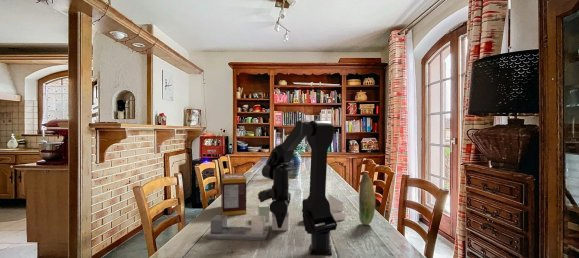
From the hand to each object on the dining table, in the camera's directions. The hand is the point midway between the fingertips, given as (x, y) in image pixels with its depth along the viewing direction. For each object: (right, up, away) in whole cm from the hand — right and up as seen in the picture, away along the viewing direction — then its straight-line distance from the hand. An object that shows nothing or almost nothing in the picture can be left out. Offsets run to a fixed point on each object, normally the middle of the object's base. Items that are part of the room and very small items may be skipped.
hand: (280, 223), depth 109 cm
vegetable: (+33, -2, +4) cm, 34 cm away
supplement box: (-22, -2, +24) cm, 33 cm away
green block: (-7, -2, +10) cm, 13 cm away
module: (0, -2, 0) cm, 2 cm away
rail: (-14, -2, -7) cm, 16 cm away
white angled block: (+23, -2, +12) cm, 26 cm away
